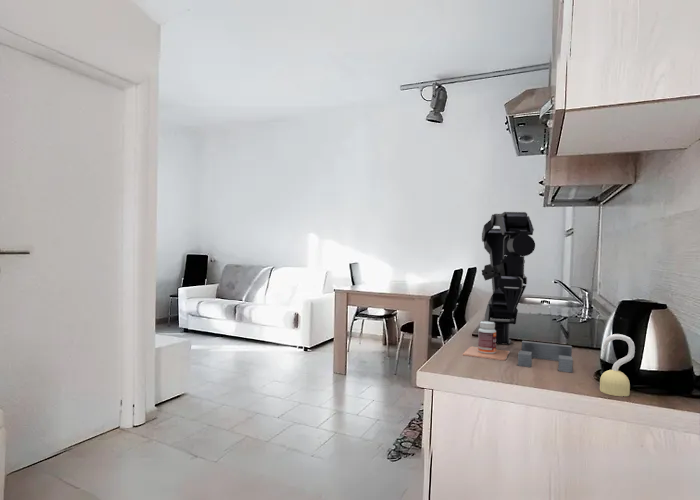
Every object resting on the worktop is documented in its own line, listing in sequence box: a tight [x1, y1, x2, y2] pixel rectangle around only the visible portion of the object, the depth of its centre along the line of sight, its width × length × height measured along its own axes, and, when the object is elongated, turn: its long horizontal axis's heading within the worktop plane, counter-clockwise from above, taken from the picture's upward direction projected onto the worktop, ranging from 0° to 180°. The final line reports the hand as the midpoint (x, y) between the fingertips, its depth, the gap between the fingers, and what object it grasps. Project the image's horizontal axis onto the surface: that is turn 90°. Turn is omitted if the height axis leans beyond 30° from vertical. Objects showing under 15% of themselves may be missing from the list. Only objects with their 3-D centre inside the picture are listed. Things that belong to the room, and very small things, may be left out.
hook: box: [599, 333, 636, 397], centre depth 88 cm, size 6×5×12 cm
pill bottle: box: [477, 320, 497, 354], centre depth 120 cm, size 5×5×8 cm
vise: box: [517, 340, 574, 373], centre depth 113 cm, size 17×12×4 cm
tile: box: [462, 345, 511, 362], centre depth 120 cm, size 11×11×1 cm
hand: (512, 310), depth 122 cm, fingers open, 9 cm apart
